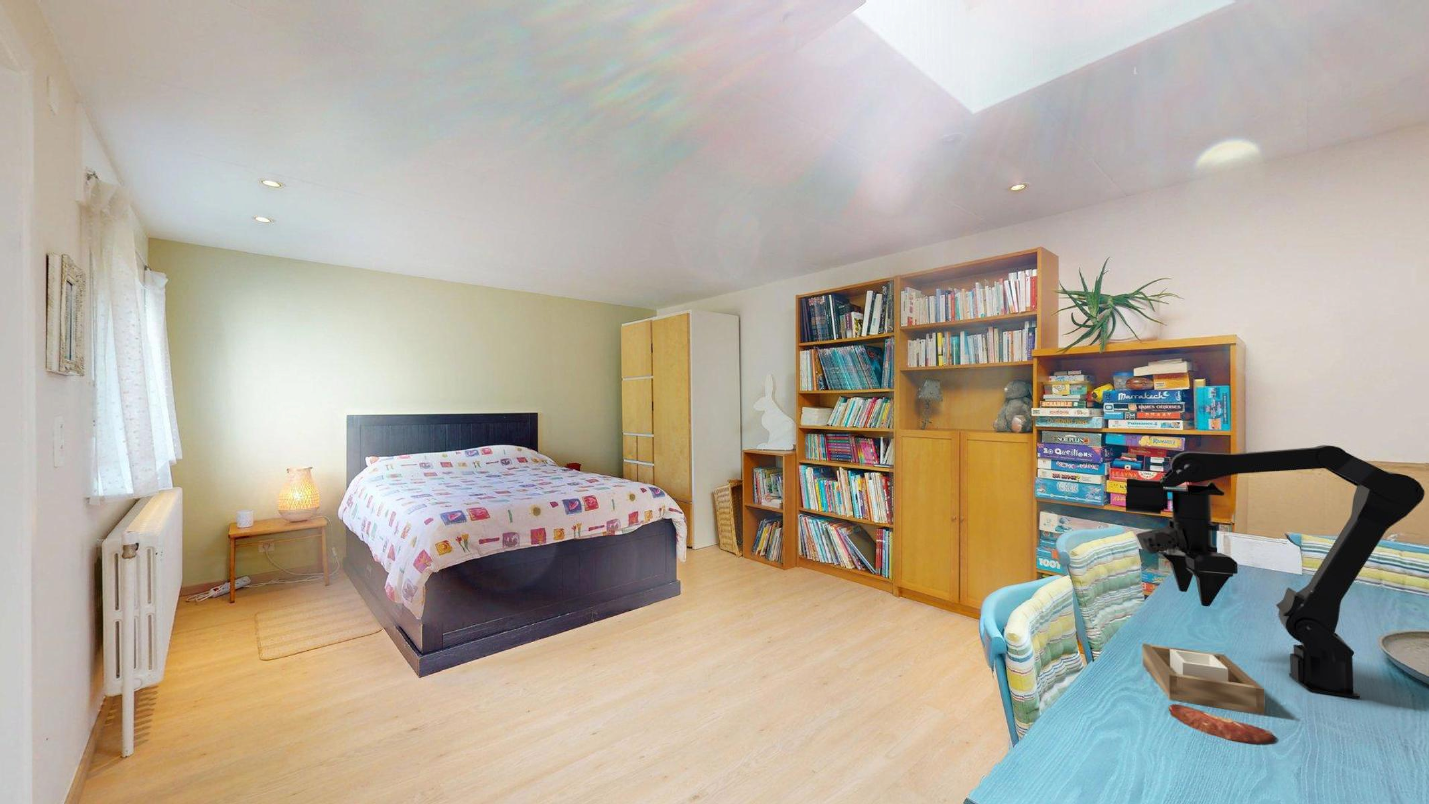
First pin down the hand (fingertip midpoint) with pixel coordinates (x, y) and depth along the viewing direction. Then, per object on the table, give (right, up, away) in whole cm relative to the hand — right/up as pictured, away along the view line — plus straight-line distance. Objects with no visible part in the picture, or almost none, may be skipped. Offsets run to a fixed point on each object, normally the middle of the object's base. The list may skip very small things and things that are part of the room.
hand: (1193, 598), depth 106 cm
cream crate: (-9, -11, -11) cm, 17 cm away
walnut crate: (-9, -12, -11) cm, 18 cm away
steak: (-16, -12, -23) cm, 30 cm away
